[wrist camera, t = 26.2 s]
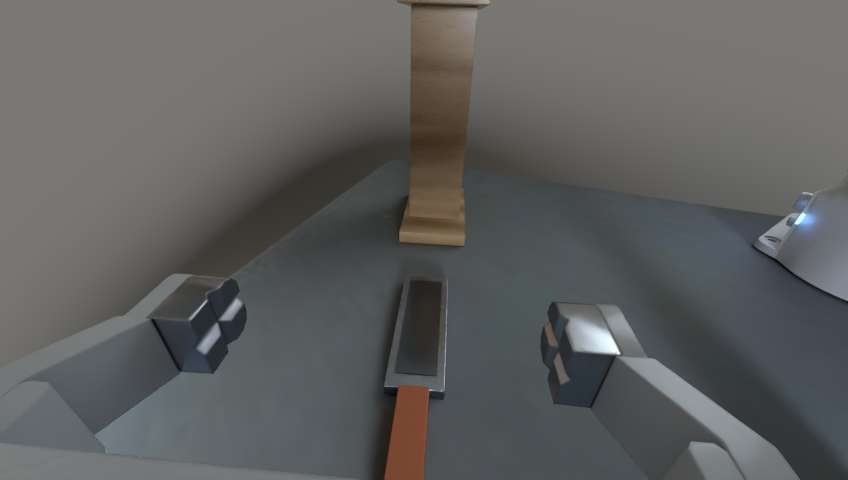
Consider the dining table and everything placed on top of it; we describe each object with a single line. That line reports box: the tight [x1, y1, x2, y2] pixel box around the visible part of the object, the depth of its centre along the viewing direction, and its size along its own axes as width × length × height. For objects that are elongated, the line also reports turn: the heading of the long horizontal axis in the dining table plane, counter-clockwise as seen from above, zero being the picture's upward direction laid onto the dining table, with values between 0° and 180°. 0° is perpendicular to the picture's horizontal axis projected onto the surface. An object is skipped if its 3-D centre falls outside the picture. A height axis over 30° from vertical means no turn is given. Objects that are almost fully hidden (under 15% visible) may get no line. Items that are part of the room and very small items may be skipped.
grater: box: [384, 275, 448, 480], centre depth 27 cm, size 22×4×1 cm, turn 176°
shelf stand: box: [397, 0, 491, 246], centre depth 42 cm, size 14×8×26 cm, turn 175°
